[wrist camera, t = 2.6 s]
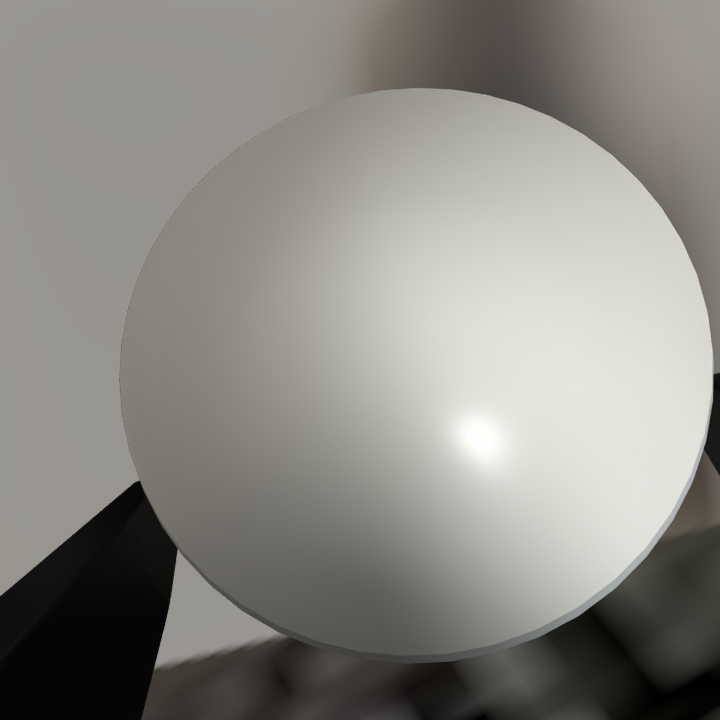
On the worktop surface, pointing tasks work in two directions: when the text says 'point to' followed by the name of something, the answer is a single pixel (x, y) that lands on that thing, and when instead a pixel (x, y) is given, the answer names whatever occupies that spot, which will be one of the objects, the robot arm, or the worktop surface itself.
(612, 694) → the worktop surface
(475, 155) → the white cylinder
